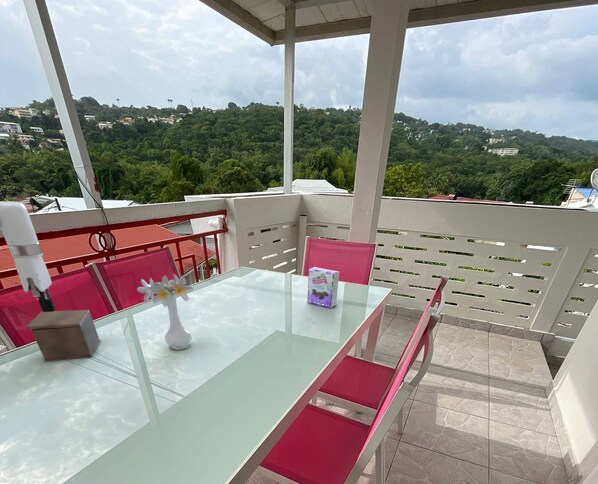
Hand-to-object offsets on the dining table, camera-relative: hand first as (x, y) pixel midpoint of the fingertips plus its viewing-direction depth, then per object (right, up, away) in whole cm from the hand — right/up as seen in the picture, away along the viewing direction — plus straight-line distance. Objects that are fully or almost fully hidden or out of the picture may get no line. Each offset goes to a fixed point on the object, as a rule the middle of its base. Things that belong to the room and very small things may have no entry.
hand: (49, 310), depth 107 cm
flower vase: (+37, -10, +14) cm, 41 cm away
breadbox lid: (+2, -2, +3) cm, 4 cm away
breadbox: (+2, -12, +9) cm, 15 cm away
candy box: (+93, +18, +57) cm, 110 cm away
